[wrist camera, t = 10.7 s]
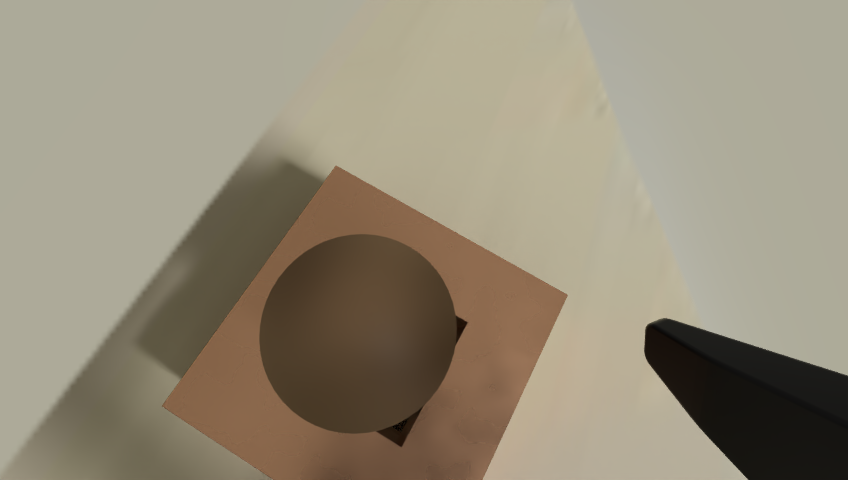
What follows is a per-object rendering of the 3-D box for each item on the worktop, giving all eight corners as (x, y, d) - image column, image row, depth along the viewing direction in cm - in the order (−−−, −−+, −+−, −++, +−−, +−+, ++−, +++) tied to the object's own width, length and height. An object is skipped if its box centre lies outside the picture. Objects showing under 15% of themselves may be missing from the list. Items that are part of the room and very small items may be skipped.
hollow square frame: (426, 540, 19) (433, 584, 15) (207, 398, 20) (161, 406, 16) (538, 308, 22) (567, 295, 18) (346, 199, 23) (336, 165, 19)
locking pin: (396, 410, 20) (392, 475, 8) (326, 367, 21) (217, 364, 8) (436, 337, 21) (490, 292, 9) (369, 298, 22) (332, 202, 9)
